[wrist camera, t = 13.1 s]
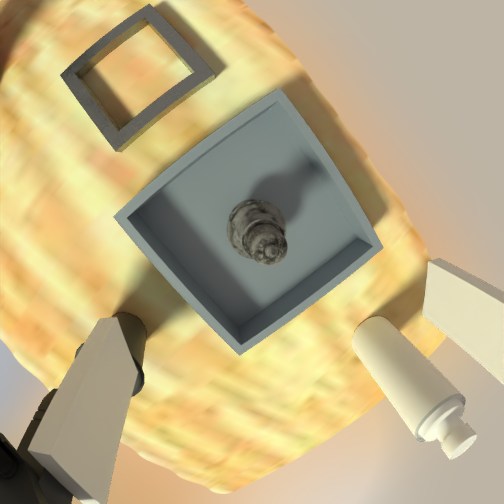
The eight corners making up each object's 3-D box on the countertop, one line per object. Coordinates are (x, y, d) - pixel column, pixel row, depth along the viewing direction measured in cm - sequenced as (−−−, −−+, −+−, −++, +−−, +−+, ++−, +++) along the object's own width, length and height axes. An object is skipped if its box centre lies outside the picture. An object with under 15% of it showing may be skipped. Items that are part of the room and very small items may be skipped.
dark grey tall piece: (220, 202, 31) (223, 221, 19) (274, 192, 31) (308, 205, 20) (231, 254, 33) (239, 301, 21) (282, 244, 33) (317, 284, 22)
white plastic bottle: (353, 360, 40) (437, 488, 17) (348, 325, 38) (452, 461, 15) (390, 344, 41) (486, 453, 17) (389, 309, 39) (505, 419, 15)
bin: (127, 209, 31) (113, 216, 26) (270, 98, 29) (279, 87, 24) (236, 332, 37) (239, 355, 32) (363, 237, 35) (383, 247, 30)
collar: (67, 79, 25) (59, 75, 23) (152, 11, 24) (149, 3, 22) (121, 152, 29) (115, 151, 27) (214, 79, 28) (214, 73, 26)
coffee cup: (116, 360, 36) (95, 408, 26) (89, 310, 33) (57, 352, 24) (166, 348, 36) (156, 400, 27) (141, 295, 34) (119, 339, 24)
